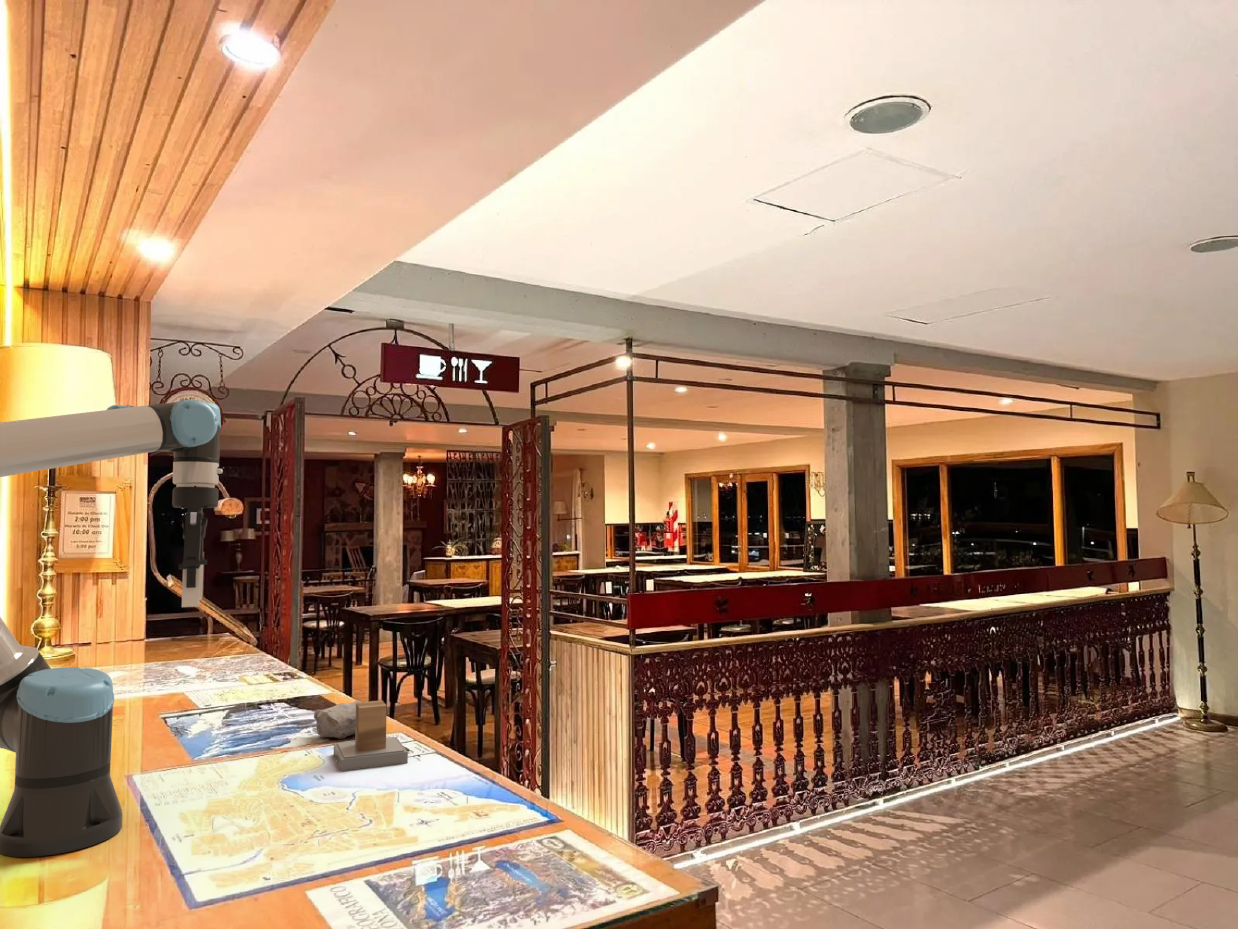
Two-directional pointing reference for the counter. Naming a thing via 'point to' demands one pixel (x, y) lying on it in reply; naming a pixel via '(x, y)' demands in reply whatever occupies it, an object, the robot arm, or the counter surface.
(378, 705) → the block
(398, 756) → the board
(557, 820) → the counter surface
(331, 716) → the stone
